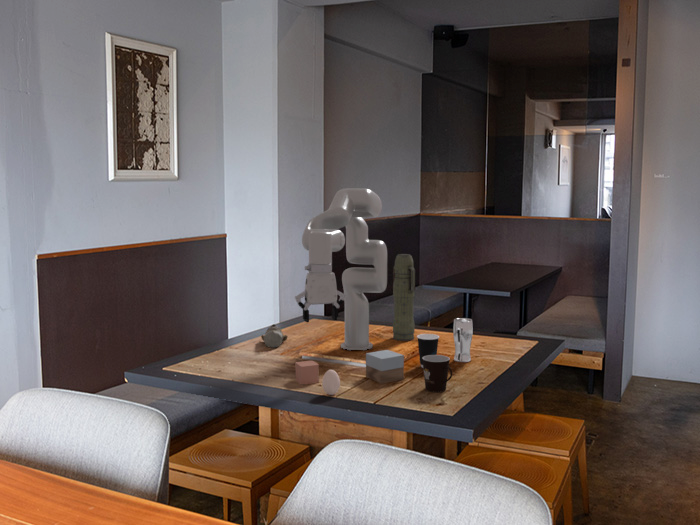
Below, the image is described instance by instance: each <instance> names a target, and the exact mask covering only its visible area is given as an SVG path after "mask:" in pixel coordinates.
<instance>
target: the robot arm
mask: <svg viewBox="0 0 700 525" xmlns="http://www.w3.org/2000/svg"><path fill="white" fill-rule="evenodd" d="M329 205H330V206H329V207H328V209H327V210H325V211H323V212H320V213H319V214H317V215H316V216H314V217H312V218H311V219H310V220H309V221H308V222H307V224H306V226H305V228H304V231H303V234H302V238H301V243H302V246H303V248H304V249H305V250H306V251H308V264H307V265H304V270H305V271H308V272H307V273H306V276H305V282H304V284H305V285H304V291H302V292H300V293H299V294H297V295H295V296H294V299H295V302H296V303H297V306H299V308H300V309H302V319H303V321H304V322H305V323H309V322H310V310H309V308H310V307H311V305H327V304H328V305H330V304H331V305H332V307H331V319H332V320H334V321H338V318H339V309H340V306H342V304H344V342H342V343H340V348H341V349H342V348H343V349H342V350H345V349H347V351H351V350H363V351H368V350H367V349H369V350H371V349H373V347H374V346H373V343H372V342H370V305H369V304H370V303H369V300H368V298H367V296H366V295H365V294H364V293H372V294H373V293H374V294H375V293H376V294H378V293H379V294H381V293H384V292H385V291H386V289H387V285H388V248H387V244H386V243H385V242H384V241H383V240H380V239H369V226H368V224H367V222H366V220H365V219H366V218H370V219H373V218H378V217H379V216H380V215H381V213H382V208H383V202H382V200H381V198H380V196H379V195H378V194H377V193H375V192H374V190H371V189H369V188H366V187H365V188H362V187H361V188H360V187H359V188H357V187H356V188H355V187H354V188H352V187H350V188H349V187H348V188H347V187H346V188H341V189H339V190H338V191H336V193H335V194H334V197H333V199H332V201H331V203H330V204H329ZM344 227H345V235H344V233H343V231H341V230H340V229H342V228H344ZM344 246H345V253H346V254H345V256H346V260H347V262H348V263H349V264H354V265H372V266H373V267H360V266H359V267H358V266H357V267H355V266H354V267H349V268H347V269H346V268H345V270H343V272H342V274H341V282H342V284H341V285H342V287H343V288H342V290H343V292H342V291H340V290H338V287H337V279H336V278H337V277H336V275H335V272H333V253H334V252H335V253H336V252H340V251H342V249H343V248H344ZM338 296H339V299H338ZM302 298H304V303H303V302H302Z"/></svg>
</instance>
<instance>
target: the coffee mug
mask: <svg viewBox="0 0 700 525" xmlns="http://www.w3.org/2000/svg"><path fill="white" fill-rule="evenodd" d="M422 360H423V368H422V369H423V376H424V387H425V391H427V392H431V393H442V392H445V391H446V390H447V383H448V382H449V381H450V380H451V379H452V377H453V369H452V368H451V366H450V361H451V358H450V357H449V356H446V355H442V354H437V355H427V356H424V357H422ZM449 372H450V375H449ZM448 376H449V377H448Z"/></svg>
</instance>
